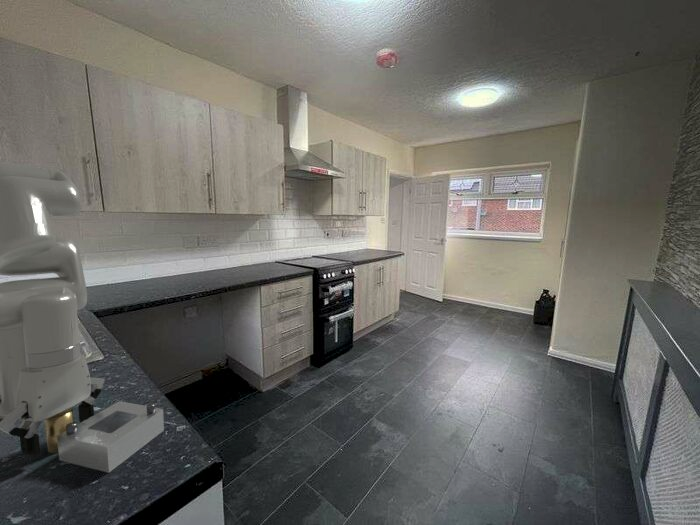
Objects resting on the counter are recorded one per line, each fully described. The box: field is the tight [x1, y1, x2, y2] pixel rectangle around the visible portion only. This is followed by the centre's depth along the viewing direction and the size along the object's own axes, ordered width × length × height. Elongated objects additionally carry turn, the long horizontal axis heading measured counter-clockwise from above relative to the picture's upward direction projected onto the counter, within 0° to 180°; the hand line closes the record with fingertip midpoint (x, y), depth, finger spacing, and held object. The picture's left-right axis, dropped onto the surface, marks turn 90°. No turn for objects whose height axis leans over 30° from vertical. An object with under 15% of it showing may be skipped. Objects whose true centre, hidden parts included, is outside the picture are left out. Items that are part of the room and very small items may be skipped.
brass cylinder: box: [44, 407, 75, 454], centre depth 60 cm, size 4×4×7 cm
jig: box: [57, 400, 165, 474], centre depth 60 cm, size 12×12×7 cm
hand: (61, 437), depth 60 cm, fingers open, 9 cm apart
